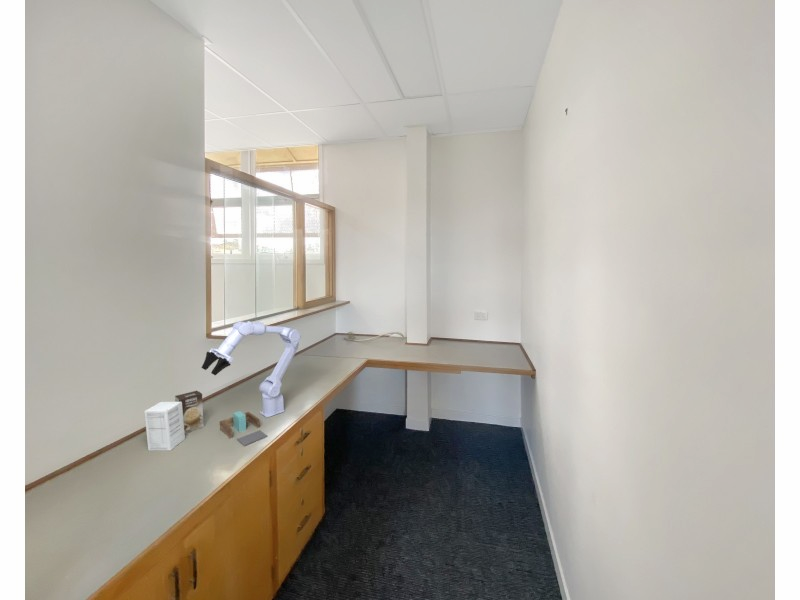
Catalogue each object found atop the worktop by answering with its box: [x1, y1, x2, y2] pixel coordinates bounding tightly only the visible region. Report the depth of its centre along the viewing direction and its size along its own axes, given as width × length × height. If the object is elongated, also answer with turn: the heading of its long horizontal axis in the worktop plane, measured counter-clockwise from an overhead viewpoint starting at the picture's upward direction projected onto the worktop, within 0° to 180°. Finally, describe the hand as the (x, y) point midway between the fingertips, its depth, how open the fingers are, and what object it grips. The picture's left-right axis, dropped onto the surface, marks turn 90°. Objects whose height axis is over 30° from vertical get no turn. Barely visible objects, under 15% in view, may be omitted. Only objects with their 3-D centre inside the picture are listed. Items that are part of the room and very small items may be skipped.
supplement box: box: [143, 401, 186, 452], centre depth 135 cm, size 10×9×17 cm
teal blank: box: [232, 410, 247, 433], centre depth 149 cm, size 3×6×7 cm, turn 48°
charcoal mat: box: [236, 429, 268, 447], centre depth 141 cm, size 10×7×1 cm
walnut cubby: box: [219, 411, 260, 439], centre depth 149 cm, size 13×11×4 cm
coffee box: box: [174, 390, 205, 434], centre depth 148 cm, size 9×6×16 cm
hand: (208, 371), depth 140 cm, fingers open, 7 cm apart
